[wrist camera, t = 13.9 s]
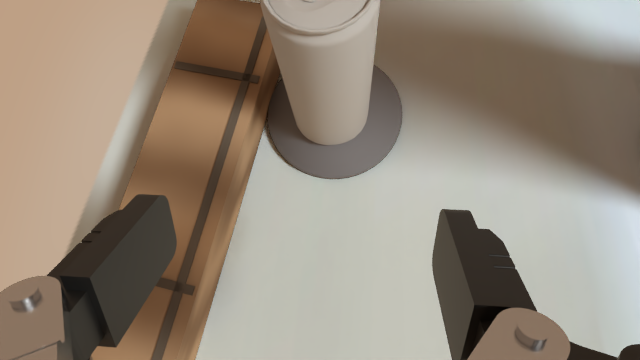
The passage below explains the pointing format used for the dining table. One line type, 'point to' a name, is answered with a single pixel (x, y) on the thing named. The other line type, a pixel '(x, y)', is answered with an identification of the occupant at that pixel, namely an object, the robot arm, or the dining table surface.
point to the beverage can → (325, 62)
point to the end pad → (344, 156)
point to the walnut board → (200, 169)
